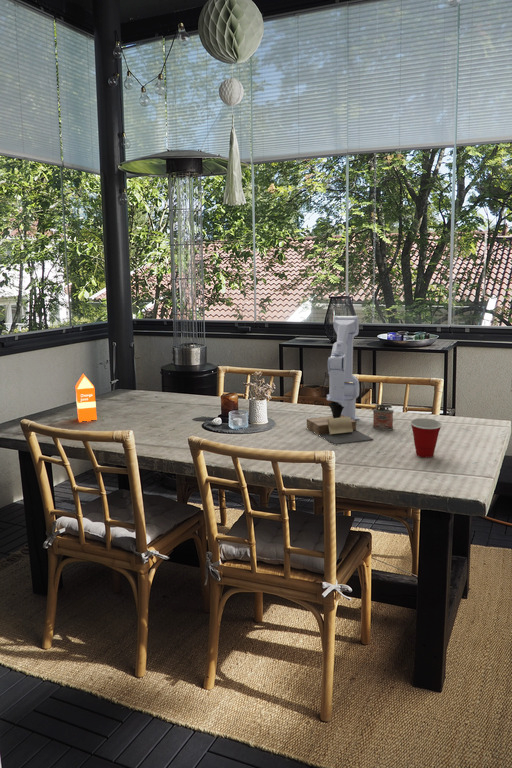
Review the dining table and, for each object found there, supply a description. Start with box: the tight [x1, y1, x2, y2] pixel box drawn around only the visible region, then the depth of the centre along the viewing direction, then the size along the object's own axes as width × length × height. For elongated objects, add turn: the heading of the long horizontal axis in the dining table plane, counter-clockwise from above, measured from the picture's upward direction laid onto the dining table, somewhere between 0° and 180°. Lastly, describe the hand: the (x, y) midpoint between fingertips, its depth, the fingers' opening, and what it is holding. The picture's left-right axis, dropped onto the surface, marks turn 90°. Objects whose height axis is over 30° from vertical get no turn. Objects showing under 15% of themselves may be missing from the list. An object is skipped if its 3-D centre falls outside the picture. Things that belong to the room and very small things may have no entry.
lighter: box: [372, 403, 394, 431], centre depth 266 cm, size 8×3×10 cm, turn 70°
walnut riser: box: [306, 415, 357, 436], centre depth 266 cm, size 12×16×4 cm
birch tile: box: [327, 417, 353, 435], centre depth 259 cm, size 6×9×2 cm
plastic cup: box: [409, 417, 443, 459], centre depth 229 cm, size 11×11×12 cm
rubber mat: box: [318, 429, 374, 445], centre depth 255 cm, size 14×16×1 cm
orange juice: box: [74, 373, 98, 423], centre depth 292 cm, size 8×9×20 cm
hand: (336, 420), depth 261 cm, fingers closed
